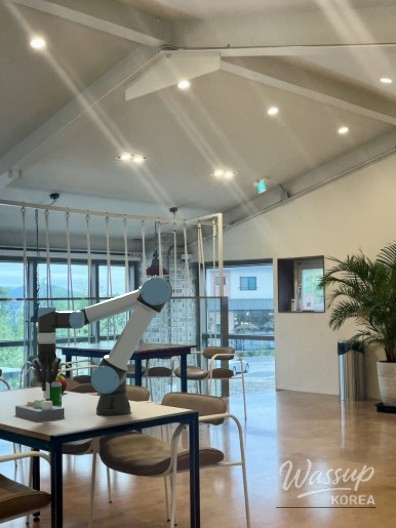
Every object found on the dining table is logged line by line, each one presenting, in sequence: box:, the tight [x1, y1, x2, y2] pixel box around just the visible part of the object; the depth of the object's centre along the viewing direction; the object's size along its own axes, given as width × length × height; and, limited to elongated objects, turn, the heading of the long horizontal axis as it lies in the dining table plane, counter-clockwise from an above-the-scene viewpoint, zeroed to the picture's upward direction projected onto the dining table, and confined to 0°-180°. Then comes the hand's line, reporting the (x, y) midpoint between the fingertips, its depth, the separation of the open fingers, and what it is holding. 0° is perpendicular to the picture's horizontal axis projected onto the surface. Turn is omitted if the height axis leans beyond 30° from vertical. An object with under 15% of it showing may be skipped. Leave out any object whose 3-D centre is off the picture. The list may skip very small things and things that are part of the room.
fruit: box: [53, 374, 68, 394], centre depth 359 cm, size 11×11×10 cm
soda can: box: [44, 382, 63, 408], centre depth 305 cm, size 8×8×12 cm
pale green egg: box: [33, 398, 45, 408], centre depth 283 cm, size 4×4×5 cm
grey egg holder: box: [14, 404, 65, 422], centre depth 283 cm, size 22×12×4 cm, turn 40°
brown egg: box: [26, 400, 34, 407], centre depth 288 cm, size 4×4×5 cm
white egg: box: [42, 401, 52, 410], centre depth 278 cm, size 4×4×5 cm
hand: (46, 398), depth 278 cm, fingers closed
